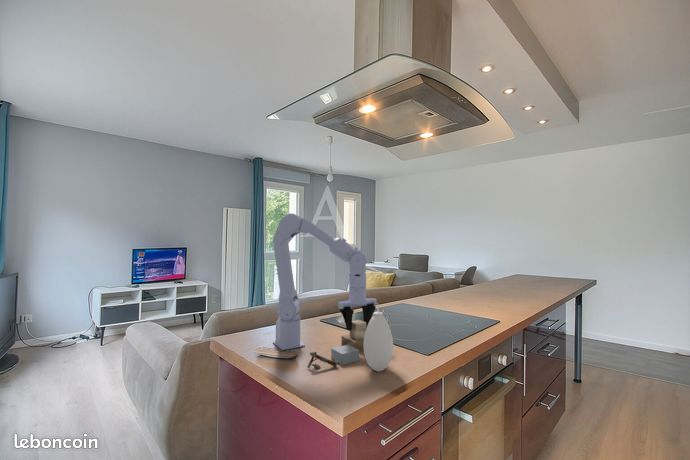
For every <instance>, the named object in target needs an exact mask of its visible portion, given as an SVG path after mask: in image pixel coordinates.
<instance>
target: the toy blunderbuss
mask: <svg viewBox="0 0 690 460" xmlns="http://www.w3.org/2000/svg"><path fill="white" fill-rule="evenodd" d="M309 355H310V357H311V359H310V360H309V362H308V363H307V369H310V367H311V366H312V367H313V368H314V369H317V370H318V369H322V368H321V366H320V365H319V364H317V363H316V362H315V363H313V362H314V361H316V360H319V361H320V362H323V363H326V364H329V365H330V366H332V367H333V369H336V367H338V366H337V365H338V364H339V363H338V362H337V360H336V361H335V360H330V359H328V358H326V357H325V356H322V355H319V354H318V353H317V351H313V352H311V351H310V352H309Z"/></svg>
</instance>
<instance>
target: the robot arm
mask: <svg viewBox="0 0 690 460" xmlns="http://www.w3.org/2000/svg"><path fill="white" fill-rule="evenodd" d="M300 233H305V234H309V235H312V236H313V237H315V238H316V239H318V240H319V241H320V242H322V243H323V244H325V245H327V246H328V247H329V251H330V252H331V253H332V254H333V255H334V256H336V257H337V258H339V259H340V260H342V261H343V262H345V263H347V262H348V265H349V273H348V274H349V275H348V276H349V277H348V278H349V279H348V280H349V281H348V286H349V288H348V290H349V291H348V293H349V294H348V295H349V297H348V299H347V300H343V301H337V309H339V311H340V313H341V315H342V316H343V321H344V323H345V328H346V330H347V331H349V332H350V330H352V321H353V315H354V312H355V310H353V309H352V308H355V307H361V309H362V315H363V318H362V319H363V320H362V321H364V322H366V328H367V326H368V323H369V321H370V319H371V318H372V317H373V316H374V315H373V313H374V312H376V311H375V310H377V307H376V306H377V305H378V301H377V300H378V299H377V298H373V297H371V298H367V273H366V271H367V268H366V265H367V262H368V261H367V258H366V255H365V254H364V252H362V251H360V250H358V247H356V246H355V247H354V246H353V245H351V244H350V243H348V242H347V239H345V237H344V238H341V237H335V238H334V237H333V236H332V235H330V234H329V233H327V232H326V231H325V230H323V229H322V228H320V227H319V226H318V225H316V224H315V223H313V222H311V221H309V220H307V219H304V218H302V217H301V216H299V215H297V214H295V213H292V212H291V213H287V214H285V215H284V216H283V217H282V218H281V219H280V220H279V221H278V225H277V228H276V231H275V233H274V235H273V237H272V243H273V251H274V252H273V253H274V259H275V265H276V273H277V279H278V286H279V294H278V306H277V311H276V313H277V316H278V319H277V320H276V322H275V340H272V343H273V344H274V345H275V346H276V347H278V348H279V349H280V350H282V351H285V350H290V349H291V350H292V349H296V348H301V347H305V346H306V345H305V343H303V342H302V341H301V315H300V314H299V312H300V310H301V309H302V301H301V300H300V299H299V297H298V292H297V290H296V288H295V281H294V274H293V266H292V261H291V259H292V258H291V252H290V245H289V244H290V242H291V241H292V240H293V238H294V237H295V236H297V235H298V234H300Z"/></svg>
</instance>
